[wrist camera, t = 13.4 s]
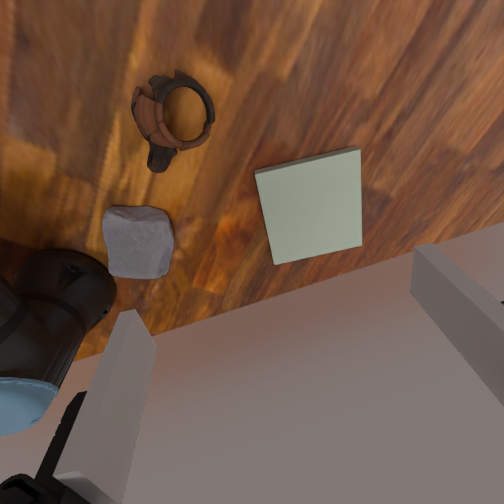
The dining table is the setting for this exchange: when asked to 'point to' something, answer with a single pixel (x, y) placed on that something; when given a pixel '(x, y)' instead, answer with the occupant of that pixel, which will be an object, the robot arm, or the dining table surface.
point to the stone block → (137, 241)
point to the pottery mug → (153, 123)
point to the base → (312, 204)
